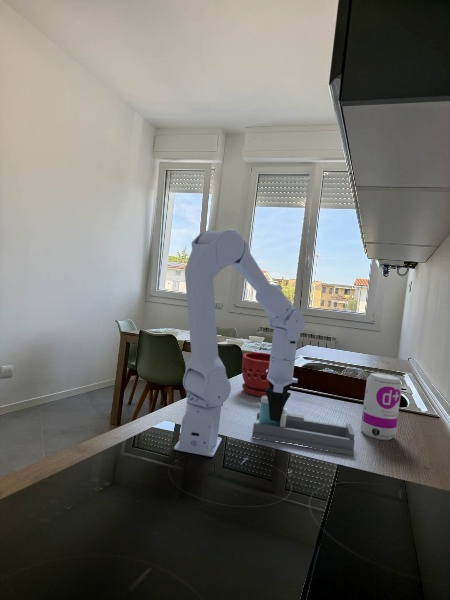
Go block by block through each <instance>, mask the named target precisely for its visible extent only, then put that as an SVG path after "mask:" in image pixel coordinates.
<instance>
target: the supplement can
mask: <svg viewBox="0 0 450 600" xmlns="http://www.w3.org/2000/svg"><path fill="white" fill-rule="evenodd" d="M369 374H370V375H369V376H368V377H367V378H366V385H365V391H364V399H363V405H362V406H363V407H362V415H361V421H360V430H361V431H362V433H363V434H364V435H366V436H367V437H369V438H372V439H376V440H381V441H389V440H392V439H393V438H395V437H396V432H397V427H398V426H397V424H398V418H399V410H400V403H401V395H402V390H403V389H402V388H403V385H402V382H401V378H400V377H399V376H396V375H392V374H388V373H383V372H382V373H381V372H371V373H369Z"/></svg>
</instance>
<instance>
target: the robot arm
mask: <svg viewBox="0 0 450 600" xmlns="http://www.w3.org/2000/svg"><path fill="white" fill-rule="evenodd" d="M249 247H250V245H249V243H248V242H247V241H246V240H245V239H244V238H243V235H242V234H241V233H240V232H239V231H238V230H235V229H232V228H231V229H225V230H204V231H202V232H201V233H199V234H198V235H197V236H196V237H195V238H194V239H193V240H192V242H191V251H190V253H189V254H190V255H189V258H188V261H187V264H186V266H185V269H184V276H185V277H184V278H185V280H184V281H185V289H186V291H185V292H186V303H187V315H188V329H189V340H190V341H189V342H190V353H191V356H190V358H188V360H187V361H185V372H184V375H183V376H182V377H183V378H182V385H183V388H184V390H185V391H186V406H185V412H184V413H185V414H184V415H183V417H182V419H181V427H180V436H179V440H178V442H177V443H176V444H175V446H174V447H173V449H174V450H176V451H180V452H183V453H184V452H185V453H189V454H196V455H201V456H205V457H214V456H215V455H216V452H217V450H218V448H219V446H220V445H221V442H222V440H223V439H222V437H220V436H219V431H220V422H221V415H222V414H221V412H222V407H223V406H224V403H225V402H226V401H227V400H228V399H229V397H230V395H231V392H232V391H231V389H232V387H231V381H230V379H229V378H228V376H227V372H226V371H227V369H226V367H225V365H224V363H223V361H222V359H221V358H220V356H219V347H218V333H217V332H218V331H217V330H218V329H217V317H216V316H217V315H216V303H215V289H214V286H215V285H214V279H215V278H216V277H217V276H218V275H219V273H220V272H221V271H223V270H224V269H226V268H227V267H228V266H229V267H233V268H235V269H236V270H237V271H238V273H239V274H240V275H241V276H242V277H243V278H244V279H245V280H246V282H247V283H248V284H249V285H250V286H251V287H252V288H253V289H254V291H255V297H254V298H255V300H256V302H257V303H258V304H259V306H261V308H262V309H263V311H264V312H265V314H267V316H268V322H269V326H270V327H272V328H273V331H272V340H271V347H270V349H271V350H270V354H271V355H270V363H269V371H268V370H267V371H268V375H267V379H268V380H269V381H268V383H269V386H270V388H266V389H265V392H266V395H267V398H268V403H269V417H270V420H271V421H277V422H279V421H280V418H281V415H282V412H283V409H284V408H285V405H286V404H287V401H289V398H290V397H291V392H289V389H290V388H291V386H292V385H293V383H294V384H298V380H299V379H298V378H296V377H294V369H295V363H296V362H295V361H296V355H297V346H298V341H299V340H300V338H301V333H302V331H303V330H304V328H305V326H306V322H307V321H306V320H305V317H304V316H305V315H304V314H303V311H301V310H300V309H299V308H296V307H294V306H293V302H292V300H291V299H288V298H287V296H286V295H285V293H284V292H283V291H282V290H283V287H282V286H281V284H277V283H276V282H273V281H272V282H269V280H268V279H267V277H266V276H265V274H264V272H263V271H262V269H261V268H260V266H259V265H258V263H257V262H256V260H255V258H254V257H253V255H252V253H251V252H250V248H249Z"/></svg>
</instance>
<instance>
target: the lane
mask: <svg viewBox="0 0 450 600" xmlns="http://www.w3.org/2000/svg"><path fill="white" fill-rule="evenodd" d="M259 416H260V411H258V412H257V413H256V420H255V422H253V428H252V435H251V438H252V437H255V438H260V439H265V440H270V441H269V442H271V441H278V442H285V443H292V444H298V445H303V446H308V447H312V448H316V449H322V450H328V451H332V452H331V453H333V452H338V453H337V454H339V453H343V454H342V455H344V454H346V455H345V456H349V457H354V454H355V450H354V448H355V431H354V430H353V427H352V424H350V423H346V424H345V426H344V425H340V424H338V425H337V424H332V423H326V422H320V421H314V420H309V419H304V423H303V422H297V421H291V420H286V425H285V427H280V426H274V425H268V424H262V423H259ZM260 439H259V440H260ZM265 440H264V441H265ZM316 449H315V450H316ZM322 450H321V451H322ZM328 451H327V452H328Z"/></svg>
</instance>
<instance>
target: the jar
mask: <svg viewBox="0 0 450 600" xmlns="http://www.w3.org/2000/svg"><path fill="white" fill-rule="evenodd" d="M259 412H260V416H259V423H262V424H268V425H274V426H280V421H281V418H280V421H279V422H277V421H271V420H270V417H269V403H268V398H267V396H262V397H261V398H260V409H259Z"/></svg>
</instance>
